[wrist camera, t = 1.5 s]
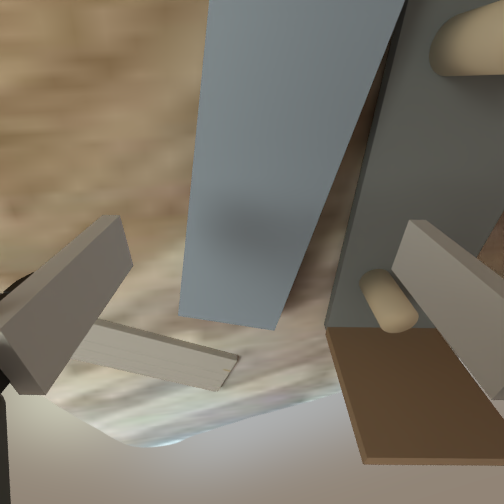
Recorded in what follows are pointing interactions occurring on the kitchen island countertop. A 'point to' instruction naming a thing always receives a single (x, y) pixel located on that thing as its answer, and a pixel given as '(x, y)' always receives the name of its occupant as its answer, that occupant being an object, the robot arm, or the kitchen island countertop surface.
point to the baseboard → (154, 355)
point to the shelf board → (271, 144)
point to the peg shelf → (439, 215)
